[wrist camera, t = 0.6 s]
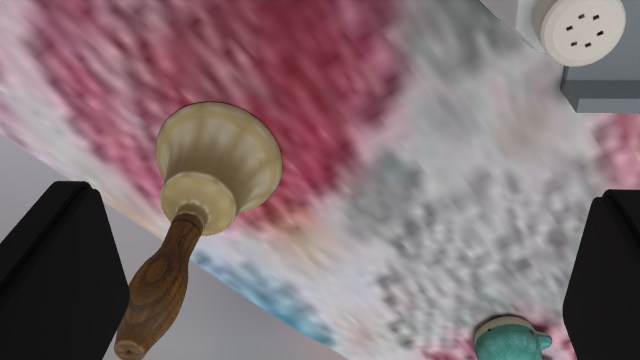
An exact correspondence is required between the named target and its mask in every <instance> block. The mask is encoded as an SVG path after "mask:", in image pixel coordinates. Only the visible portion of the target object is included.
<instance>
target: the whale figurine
mask: <svg viewBox="0 0 640 360" xmlns="http://www.w3.org/2000/svg"><path fill="white" fill-rule="evenodd" d="M551 344H552V338H551V336H550V335H549V334H547V333H545V332H538V331H536V330H534V328H533V327H532V325H531V324H530V323H529V322H527V321H526V320H524V319H522V318H519V317H513V316H505V317H500V318H496V319H494V320H491V321H489V322H488V323H486V324H484V325H483V326H482V327H480V328H479V330H478V331H477V332H476V334H475V337H474V348H475V352H476V356H477V358H478V360H543V359H542V354H541V351H542V350H543V349H545V348H548V347H549V346H550V345H551Z"/></svg>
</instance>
